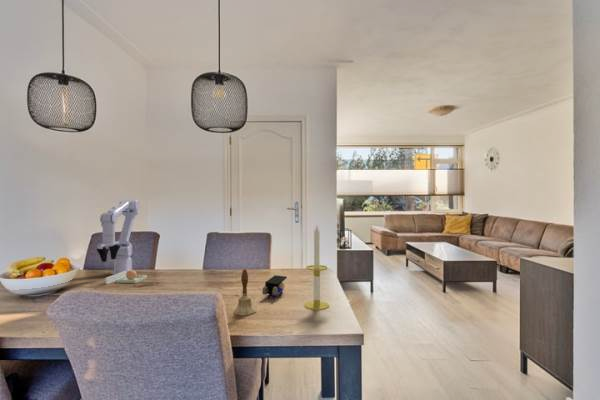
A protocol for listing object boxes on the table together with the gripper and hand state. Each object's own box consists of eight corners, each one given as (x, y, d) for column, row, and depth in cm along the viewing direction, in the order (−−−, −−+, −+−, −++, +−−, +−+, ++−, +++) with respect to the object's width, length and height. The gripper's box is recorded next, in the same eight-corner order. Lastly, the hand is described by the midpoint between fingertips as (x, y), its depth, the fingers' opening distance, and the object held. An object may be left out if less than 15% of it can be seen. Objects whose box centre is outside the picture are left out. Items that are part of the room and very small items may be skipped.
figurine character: (276, 304, 136) (287, 290, 151) (276, 286, 136) (287, 274, 150) (261, 303, 138) (274, 289, 153) (261, 285, 137) (273, 273, 152)
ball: (127, 279, 173) (127, 270, 173) (137, 278, 174) (137, 269, 174) (124, 280, 168) (124, 270, 169) (135, 279, 169) (134, 269, 170)
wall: (124, 276, 180) (124, 270, 180) (126, 276, 179) (126, 271, 179) (105, 283, 164) (105, 277, 164) (107, 283, 163) (107, 277, 163)
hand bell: (229, 311, 123) (229, 269, 123) (247, 306, 129) (247, 266, 129) (242, 317, 117) (241, 273, 117) (260, 311, 123) (260, 269, 123)
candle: (308, 311, 124) (308, 225, 124) (301, 303, 133) (301, 223, 133) (333, 308, 126) (333, 225, 126) (324, 300, 136) (324, 223, 136)
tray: (128, 277, 177) (128, 275, 177) (146, 278, 176) (146, 275, 176) (115, 282, 166) (115, 279, 166) (135, 283, 165) (135, 280, 165)
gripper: (110, 233, 181) (110, 257, 181) (92, 236, 167) (92, 262, 167) (122, 233, 181) (122, 258, 181) (105, 236, 166) (105, 263, 166)
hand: (108, 260), depth 174 cm, fingers open, 7 cm apart
